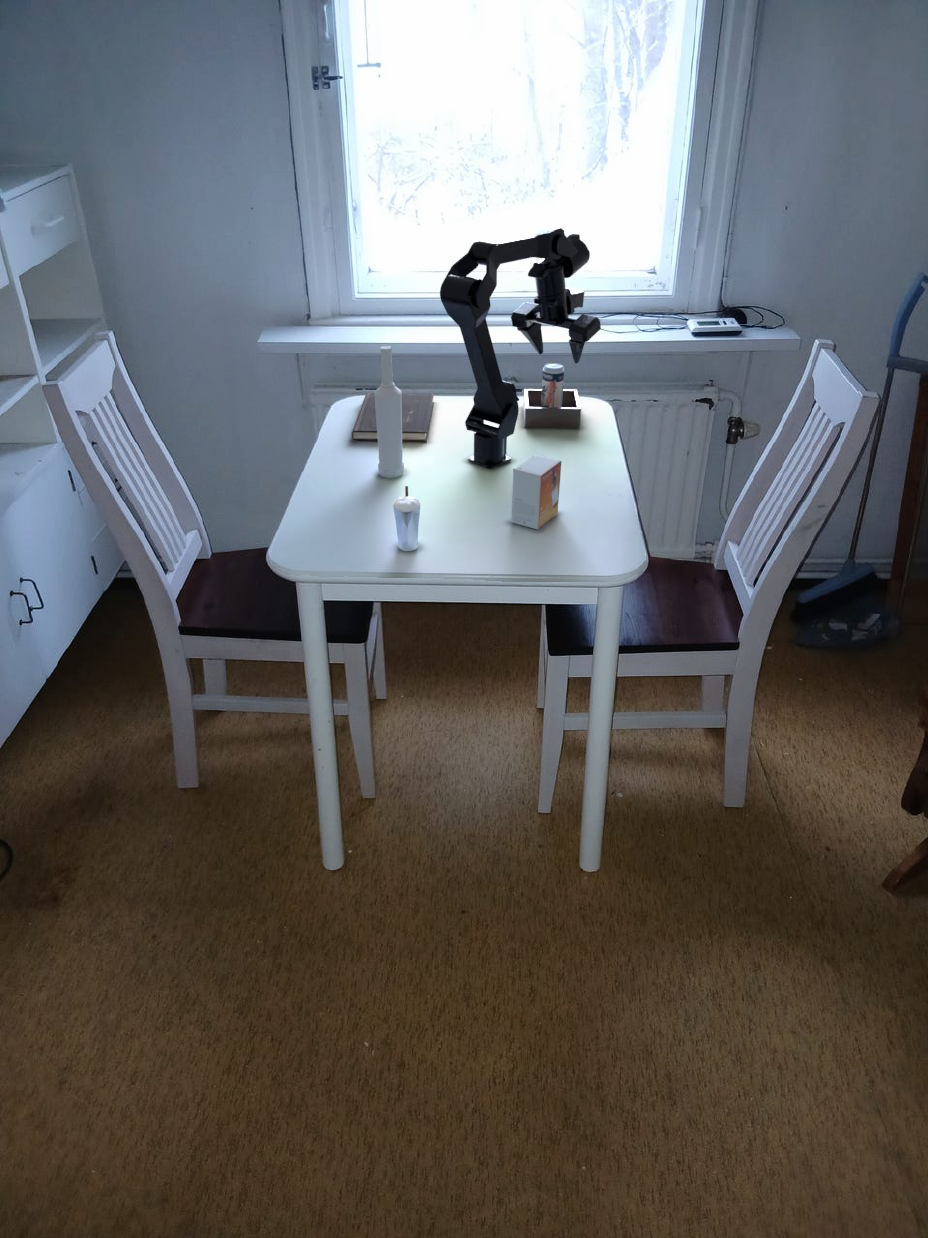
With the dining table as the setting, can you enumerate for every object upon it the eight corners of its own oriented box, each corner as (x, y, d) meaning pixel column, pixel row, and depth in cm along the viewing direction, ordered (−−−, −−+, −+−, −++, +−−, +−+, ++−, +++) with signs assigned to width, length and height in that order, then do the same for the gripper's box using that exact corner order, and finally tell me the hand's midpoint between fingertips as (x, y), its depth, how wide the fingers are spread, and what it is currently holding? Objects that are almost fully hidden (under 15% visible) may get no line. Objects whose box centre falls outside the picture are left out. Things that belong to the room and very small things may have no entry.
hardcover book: (433, 403, 214) (433, 393, 213) (426, 442, 195) (426, 431, 194) (365, 402, 214) (365, 392, 213) (352, 440, 195) (351, 430, 194)
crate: (579, 428, 202) (581, 408, 199) (524, 427, 202) (525, 408, 199) (575, 408, 212) (577, 389, 209) (523, 407, 212) (524, 388, 209)
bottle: (373, 475, 181) (366, 349, 167) (387, 465, 185) (381, 341, 171) (395, 480, 179) (390, 353, 165) (409, 470, 183) (405, 345, 169)
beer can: (536, 415, 208) (538, 363, 201) (554, 412, 209) (557, 360, 203) (546, 423, 204) (549, 370, 197) (565, 419, 206) (568, 367, 199)
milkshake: (421, 538, 160) (420, 485, 154) (421, 553, 155) (420, 499, 150) (395, 538, 159) (393, 485, 154) (394, 553, 155) (392, 500, 149)
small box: (537, 530, 162) (540, 476, 156) (510, 522, 164) (512, 468, 159) (558, 513, 168) (562, 460, 162) (532, 506, 170) (534, 453, 164)
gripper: (612, 277, 181) (617, 347, 193) (535, 263, 191) (544, 330, 202) (582, 304, 176) (588, 374, 187) (504, 288, 186) (515, 356, 197)
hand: (559, 357), depth 194 cm, fingers open, 9 cm apart
